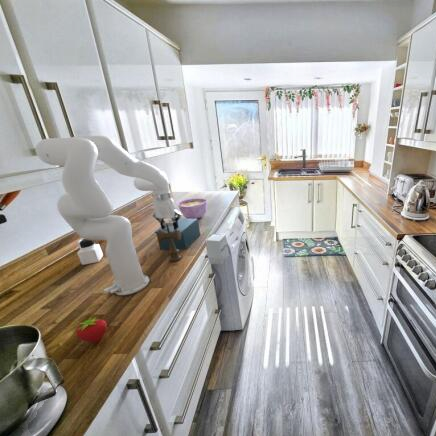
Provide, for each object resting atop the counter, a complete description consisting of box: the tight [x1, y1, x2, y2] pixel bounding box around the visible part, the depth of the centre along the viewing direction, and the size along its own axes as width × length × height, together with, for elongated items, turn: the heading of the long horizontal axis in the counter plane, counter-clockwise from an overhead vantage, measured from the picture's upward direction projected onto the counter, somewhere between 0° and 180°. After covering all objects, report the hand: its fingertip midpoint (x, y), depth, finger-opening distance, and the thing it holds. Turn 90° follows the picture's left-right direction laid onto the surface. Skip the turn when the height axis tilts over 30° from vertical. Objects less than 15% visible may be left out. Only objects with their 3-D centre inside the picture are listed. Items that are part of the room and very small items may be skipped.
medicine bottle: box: [76, 238, 104, 266], centre depth 120 cm, size 7×7×12 cm
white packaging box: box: [204, 233, 230, 266], centre depth 115 cm, size 7×7×13 cm
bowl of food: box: [177, 197, 208, 219], centre depth 174 cm, size 20×20×12 cm
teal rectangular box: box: [155, 220, 201, 250], centre depth 137 cm, size 18×15×10 cm
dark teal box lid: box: [154, 218, 199, 234], centre depth 134 cm, size 19×15×5 cm
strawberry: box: [75, 316, 108, 344], centre depth 73 cm, size 6×8×10 cm
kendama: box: [156, 223, 182, 262], centre depth 116 cm, size 6×10×20 cm, turn 94°
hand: (170, 228), depth 128 cm, fingers closed on dark teal box lid, 6 cm apart
